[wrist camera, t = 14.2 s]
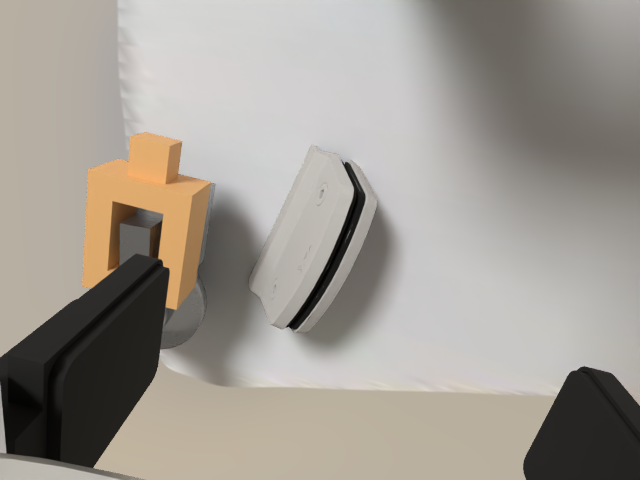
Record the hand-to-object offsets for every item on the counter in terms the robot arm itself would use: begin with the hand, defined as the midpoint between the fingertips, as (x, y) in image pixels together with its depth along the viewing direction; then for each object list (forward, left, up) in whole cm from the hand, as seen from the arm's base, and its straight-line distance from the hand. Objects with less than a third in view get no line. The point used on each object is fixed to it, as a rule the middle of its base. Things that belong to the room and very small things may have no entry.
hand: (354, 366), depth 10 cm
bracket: (+8, -16, -28) cm, 33 cm away
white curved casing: (+10, -2, -35) cm, 36 cm away
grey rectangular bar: (+10, -15, -34) cm, 39 cm away
